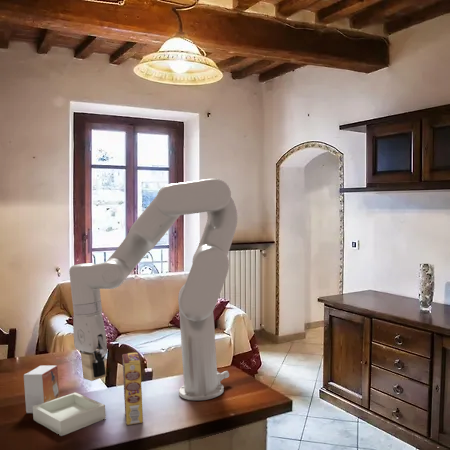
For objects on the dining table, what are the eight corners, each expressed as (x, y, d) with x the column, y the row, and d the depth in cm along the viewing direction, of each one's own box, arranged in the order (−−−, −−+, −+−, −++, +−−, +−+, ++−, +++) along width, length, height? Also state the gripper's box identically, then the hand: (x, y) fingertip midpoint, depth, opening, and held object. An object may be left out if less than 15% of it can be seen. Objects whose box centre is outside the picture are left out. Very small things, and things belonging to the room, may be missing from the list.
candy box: (144, 423, 120) (140, 361, 119) (126, 425, 118) (122, 363, 118) (141, 409, 128) (137, 351, 128) (125, 412, 127) (121, 353, 127)
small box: (44, 414, 129) (41, 374, 129) (25, 413, 130) (22, 374, 130) (60, 402, 137) (58, 364, 137) (42, 401, 138) (40, 364, 138)
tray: (76, 404, 134) (75, 392, 134) (105, 418, 124) (104, 404, 123) (33, 420, 125) (32, 406, 125) (61, 436, 115) (60, 421, 115)
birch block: (97, 373, 138) (95, 348, 137) (106, 375, 134) (103, 350, 134) (83, 378, 134) (80, 353, 134) (91, 381, 131) (89, 355, 131)
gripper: (60, 309, 137) (67, 373, 138) (91, 314, 125) (98, 384, 126) (84, 303, 142) (90, 365, 143) (116, 307, 131) (123, 375, 131)
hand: (94, 373), depth 134 cm, fingers closed on birch block, 4 cm apart
